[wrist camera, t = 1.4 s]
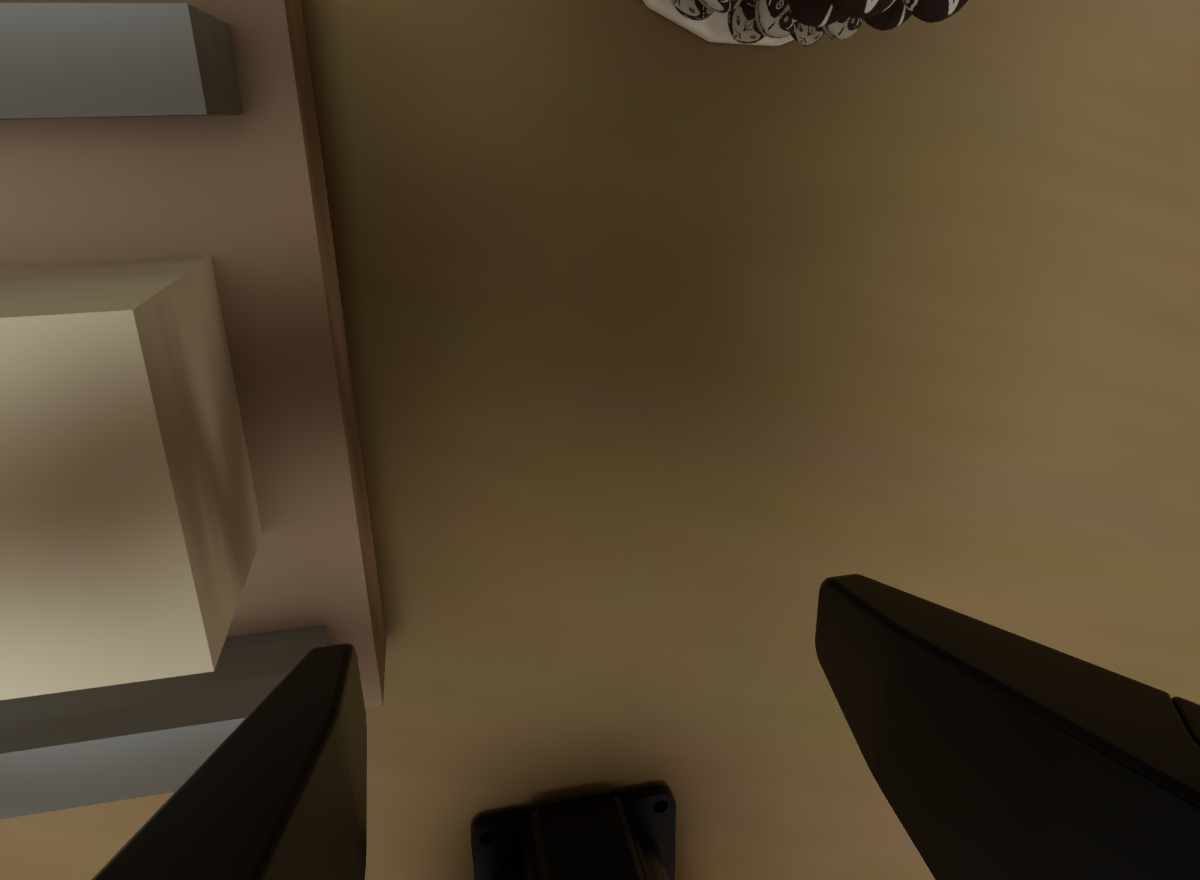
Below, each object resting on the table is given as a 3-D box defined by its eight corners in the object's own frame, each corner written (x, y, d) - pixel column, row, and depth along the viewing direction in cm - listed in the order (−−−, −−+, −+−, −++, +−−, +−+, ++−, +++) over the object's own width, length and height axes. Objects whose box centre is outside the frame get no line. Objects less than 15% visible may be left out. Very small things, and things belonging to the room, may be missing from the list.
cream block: (262, 533, 18) (213, 671, 14) (-46, 566, 17) (-210, 728, 13) (211, 255, 16) (131, 309, 12) (-146, 273, 15) (-388, 341, 10)
